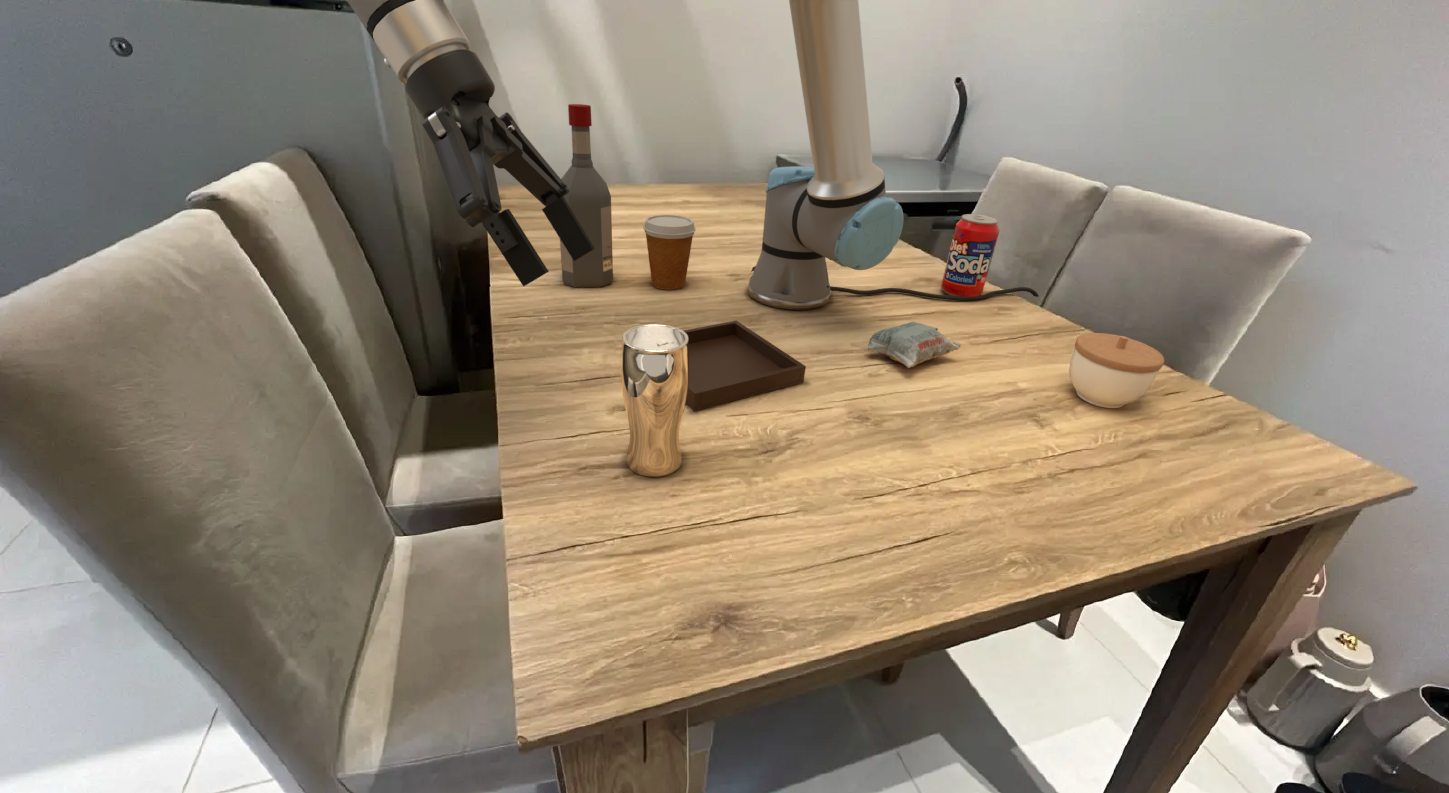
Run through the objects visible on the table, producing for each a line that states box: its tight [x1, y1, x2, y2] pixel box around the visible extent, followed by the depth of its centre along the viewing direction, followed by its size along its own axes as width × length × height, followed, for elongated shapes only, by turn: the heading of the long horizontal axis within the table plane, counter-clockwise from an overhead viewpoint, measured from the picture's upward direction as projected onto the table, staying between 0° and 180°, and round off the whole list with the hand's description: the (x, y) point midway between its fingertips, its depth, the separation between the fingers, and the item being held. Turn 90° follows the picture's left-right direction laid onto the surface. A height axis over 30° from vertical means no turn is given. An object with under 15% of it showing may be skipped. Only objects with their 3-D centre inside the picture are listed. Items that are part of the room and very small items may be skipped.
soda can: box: [940, 213, 1000, 297], centre depth 121 cm, size 8×8×15 cm
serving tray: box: [682, 320, 807, 412], centre depth 89 cm, size 18×18×3 cm
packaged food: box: [867, 321, 962, 369], centre depth 96 cm, size 9×12×5 cm
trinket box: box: [1068, 332, 1165, 409], centre depth 87 cm, size 11×11×9 cm
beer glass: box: [620, 323, 689, 478], centre depth 66 cm, size 7×7×15 cm
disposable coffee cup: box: [642, 214, 697, 291], centre depth 116 cm, size 10×10×12 cm
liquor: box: [559, 103, 614, 288], centre depth 111 cm, size 9×9×30 cm
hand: (562, 266), depth 65 cm, fingers open, 13 cm apart
